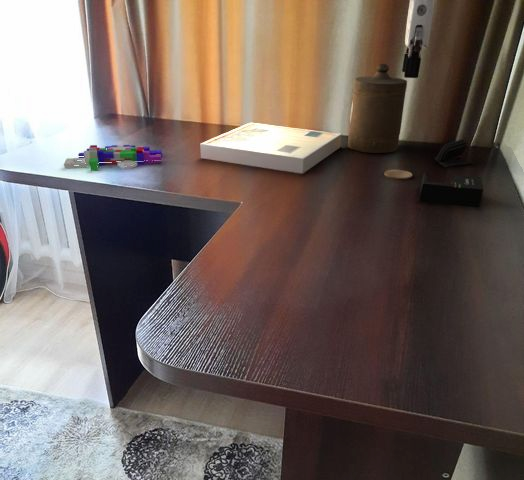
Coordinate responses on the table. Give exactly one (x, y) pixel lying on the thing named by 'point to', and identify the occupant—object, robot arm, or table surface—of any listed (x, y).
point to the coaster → (398, 174)
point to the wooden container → (377, 112)
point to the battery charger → (453, 191)
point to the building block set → (114, 157)
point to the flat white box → (272, 147)
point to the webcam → (453, 154)
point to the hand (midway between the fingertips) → (409, 74)
